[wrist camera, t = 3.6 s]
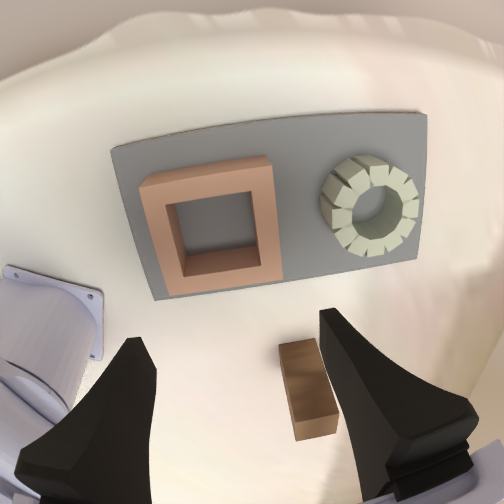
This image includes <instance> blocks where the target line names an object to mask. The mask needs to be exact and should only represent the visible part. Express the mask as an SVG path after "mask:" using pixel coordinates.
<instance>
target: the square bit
mask: <svg viewBox="0 0 504 504" xmlns="http://www.w3.org/2000/svg"><path fill="white" fill-rule="evenodd" d="M279 354H280V364H281V371H282V376H283V381H284V385H285V390H286V395H287V400H288V405H289V410H290V415H291V420H292V425H293V430H294V435H295V440H296V441H301V440H306V439H311V438H316V437H321V436H326V435H330V434H334V433H336V430H337V425H338V419H339V410H338V407H337V404H336V401H335V398H334V395H333V392H332V389H331V385H330V382H329V379H328V376H327V373H326V370H325V367H324V364H323V361H322V358H321V355H320V352H319V349H318V346H317V343H316V340H315V338H314V339H309V340H303V341H298V342H292V343H286V344H280V345H279Z"/></svg>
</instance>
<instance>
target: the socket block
mask: <svg viewBox="0 0 504 504" xmlns="http://www.w3.org/2000/svg"><path fill="white" fill-rule="evenodd" d="M110 152H111V157H112V161H113V165H114V169H115V173H116V177H117V181H118V185H119V189H120V192H121V196H122V200H123V203H124V207H125V210H126V214H127V217H128V221H129V224H130V228H131V231H132V234H133V238H134V241H135V244H136V247H137V250H138V254H139V257H140V260H141V263H142V266H143V269H144V272H145V275H146V278H147V281H148V284H149V287H150V289H151V292H152V295H153V298H154V301H157V300H165V299H173V298H180V297H188V296H195V295H202V294H209V293H216V292H223V291H230V290H237V289H244V288H250V287H257V286H263V285H270V284H276V283H283V282H289V281H295V280H301V279H307V278H313V277H319V276H325V275H331V274H337V273H343V272H348V271H354V270H360V269H365V268H371V267H376V266H382V265H387V264H392V263H398V262H403V261H408V260H413V259H417V255H418V248H419V241H420V233H421V225H422V216H423V205H424V194H425V180H426V162H427V115H426V114H423V113H411V112H368V113H339V114H321V115H307V116H295V117H284V118H275V119H266V120H257V121H249V122H242V123H235V124H228V125H221V126H215V127H209V128H203V129H197V130H192V131H186V132H181V133H176V134H171V135H166V136H161V137H156V138H152V139H147V140H143V141H139V142H134V143H130V144H126V145H122V146H118V147H115V148H113V149H112V150H110Z"/></svg>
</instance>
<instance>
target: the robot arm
mask: <svg viewBox="0 0 504 504" xmlns="http://www.w3.org/2000/svg"><path fill="white" fill-rule="evenodd" d="M16 273H17V274H18V275H17V274H16ZM3 274H4V278H3V279H2V280H1V281H0V504H152V500H151V490H150V476H149V438H150V430H151V423H152V416H153V409H154V403H155V396H156V379H157V369H156V367H155V365H154V363H153V361H152V359H151V357H150V355H149V353H148V351H147V349H146V347H145V345H144V343H143V341H142V339H141V337H134V338H127V339H126V341H125V342H124V343H123V345H122V346H121V348H120V349H119V351H118V352H117V353H116V355H115V356H114V358H113V359H112V361H111V362H110V364H109V365H108V366H107V368H106V369H105V371H104V372H103V373H102V375H101V376H100V377H99V379H98V380H97V381H96V383H95V384H94V385H93V386H92V388H91V389H90V390H89V392H88V393H87V394H86V395H85V396H84V398H83V399H82V400H81V401H80V402H79V403H78V404H77V405H76V406H75V407H74V408H73V405H74V402H75V398H76V395H77V392H78V389H79V386H80V383H81V380H82V377H83V374H84V371H85V368H86V365H87V362H88V359H93V360H97V361H101V360H102V358H103V294H102V293H101V292H100V291H97V290H93V289H89V288H85V287H82V286H78V285H74V284H70V283H67V282H63V281H59V280H56V279H52V278H48V277H45V276H41V275H38V274H35V273H31V272H28V271H24V270H21V269H18V268H14V267H11V266H5V267H4V269H3ZM89 294H91V295H92V296H93V297H92V296H90V295H89ZM319 316H320V350H321V354H322V358H323V361H324V365H325V368H326V371H327V374H328V376H329V379H330V381H331V384H332V386H333V389H334V391H335V394H336V396H337V399H338V401H339V404H340V406H341V409H342V412H343V414H344V417H345V421H346V424H347V428H348V432H349V436H350V440H351V444H352V448H353V452H354V457H355V461H356V466H357V471H358V476H359V481H360V487H361V492H362V499H363V502H362V503H359V504H498V503H500V502H502V501H503V500H504V447H503V445H502V443H501V441H500V440H499V439H496V440H495V441H493V442H491V443H490V444H488V445H486V446H484V447H482V448H481V449H479V450H477V451H476V452H474V453H473V454H471V455H470V456H469V453H468V451H467V450H468V449H469V444H468V442H467V440H466V439H467V438H468V437H469V435H470V434H471V433H472V432H473V430H474V429H475V428H476V426H477V424H478V421H479V417H478V415H477V413H476V411H475V410H474V408H473V406H472V405H471V403H470V402H469V401H468V399H467V398H465V397H462V396H459V395H456V394H453V393H451V392H448V391H445V390H443V389H441V388H438V387H436V386H434V385H432V384H430V383H428V382H426V381H424V380H422V379H420V378H418V377H417V376H415V375H413V374H411V373H410V372H408V371H406V370H405V369H403V368H402V367H400V366H399V365H397V364H396V363H394V362H393V361H392V360H390V359H389V358H388V357H386V356H385V355H384V354H383V353H381V352H380V351H379V350H378V349H377V348H375V347H374V346H373V345H372V344H371V343H370V342H369V341H368V340H366V339H365V338H364V337H363V336H362V335H361V334H360V333H359V332H358V331H357V330H356V329H355V328H354V327H353V326H352V325H351V324H350V323H349V322H348V321H347V320H346V319H345V318H344V317H343V316H342V314H341V313H340V312H339V311H338V310H337V309H336V308H329V309H324V310H319ZM72 408H73V409H72Z"/></svg>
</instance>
